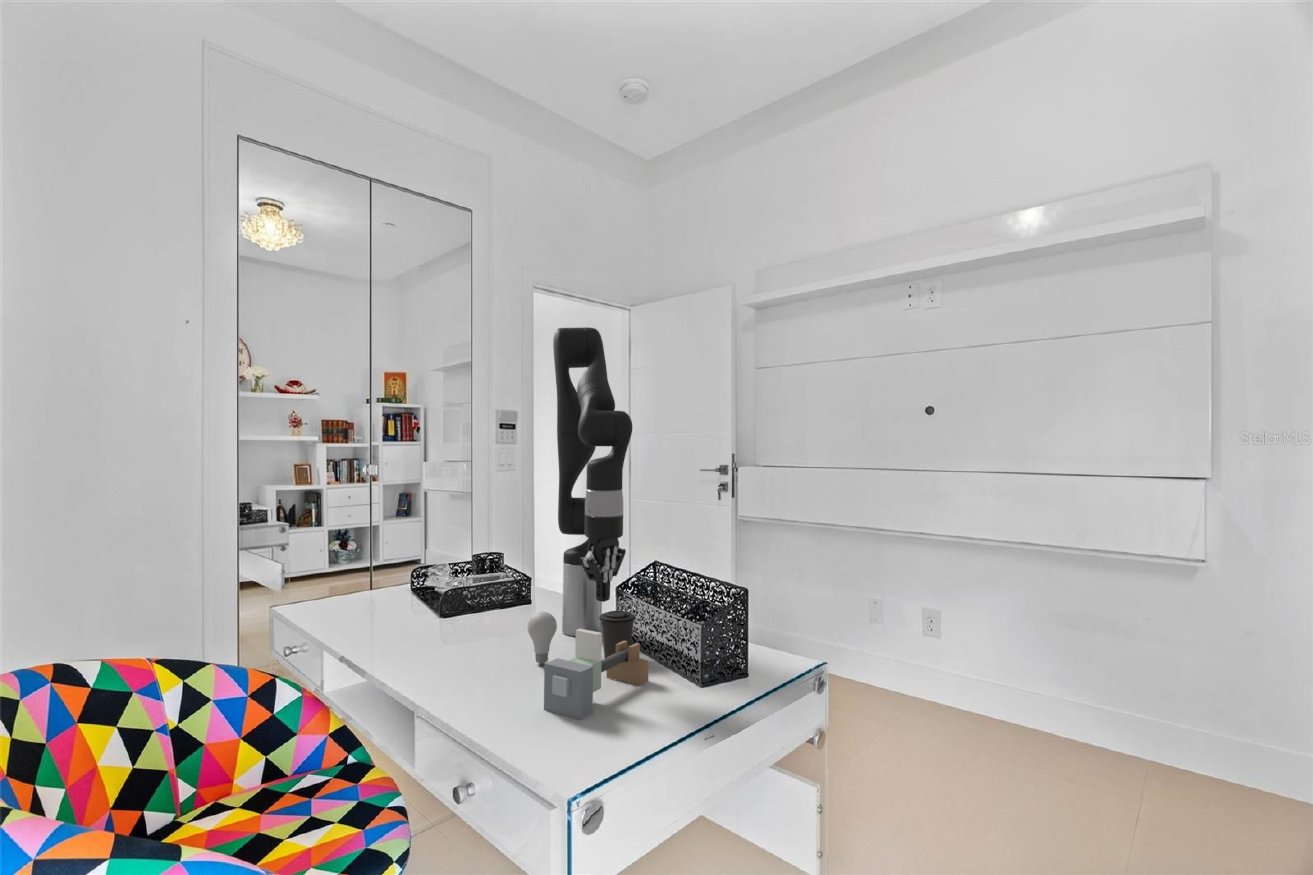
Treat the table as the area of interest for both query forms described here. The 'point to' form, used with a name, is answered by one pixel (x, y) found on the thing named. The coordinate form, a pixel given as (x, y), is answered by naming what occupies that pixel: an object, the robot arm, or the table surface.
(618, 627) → the coffee cup
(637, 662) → the rod rig
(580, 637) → the white-faced green block
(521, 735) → the table surface
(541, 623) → the lightbulb
